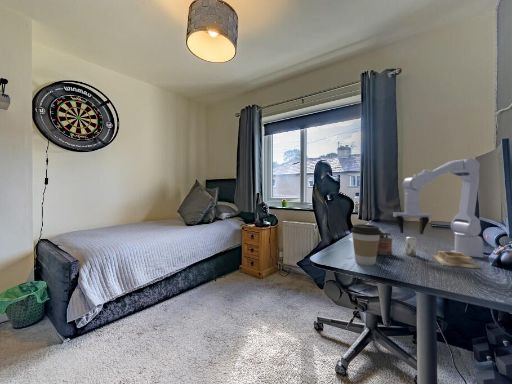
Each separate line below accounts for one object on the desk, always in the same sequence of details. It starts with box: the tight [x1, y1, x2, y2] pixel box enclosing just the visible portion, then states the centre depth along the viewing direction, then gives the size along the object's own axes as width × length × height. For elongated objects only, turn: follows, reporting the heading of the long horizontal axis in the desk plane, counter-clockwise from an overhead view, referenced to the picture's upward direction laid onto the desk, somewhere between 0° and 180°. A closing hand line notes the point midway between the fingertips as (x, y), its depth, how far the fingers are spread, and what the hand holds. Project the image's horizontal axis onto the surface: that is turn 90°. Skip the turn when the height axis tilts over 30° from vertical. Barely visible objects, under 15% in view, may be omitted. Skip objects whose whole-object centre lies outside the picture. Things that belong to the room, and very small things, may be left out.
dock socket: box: [431, 250, 481, 269], centre depth 99 cm, size 12×12×3 cm
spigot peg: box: [405, 236, 417, 257], centre depth 109 cm, size 4×4×8 cm
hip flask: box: [377, 231, 393, 256], centre depth 111 cm, size 8×3×10 cm, turn 69°
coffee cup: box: [350, 223, 382, 267], centre depth 97 cm, size 11×11×15 cm
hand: (411, 233), depth 109 cm, fingers open, 7 cm apart
